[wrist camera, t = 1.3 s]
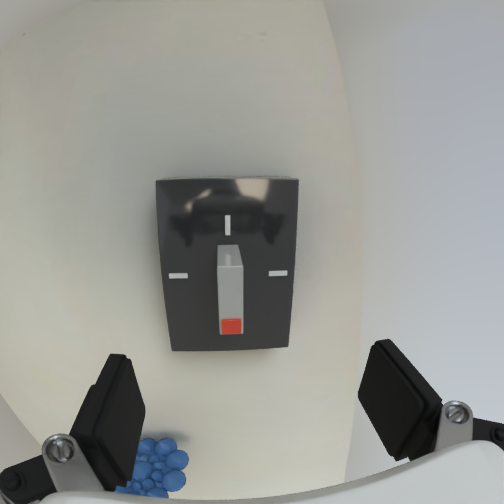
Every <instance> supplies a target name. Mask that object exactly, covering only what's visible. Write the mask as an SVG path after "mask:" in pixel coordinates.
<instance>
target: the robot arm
mask: <svg viewBox="0 0 504 504" xmlns="http://www.w3.org/2000/svg"><path fill="white" fill-rule="evenodd" d="M358 398H359V401H360V402H361V404H362V406H363V408H364V410H365V412H366V413H367V415H368V417H369V419H370V421H371V423H372V424H373V426H374V428H375V430H376V432H377V433H378V435H379V437H380V439H381V441H382V442H383V445H384V446H385V448H386V450H387V452H388V454H389V455H390V456H393V457H394V459H395V460H396V461H399V460H402V459H404V458H407V457H408V458H409V460H410V462H407V463H405V464H402V465H400V466H397V467H394V468H392V469H389V470H386V471H383V472H380V473H377V474H374V475H371V476H368V477H365V478H361V479H358V480H354V481H350V482H347V483H343V484H339V485H335V486H330V487H326V488H321V489H317V490H312V491H306V492H301V493H294V494H288V495H281V496H273V497H264V498H252V499H237V500H185V499H169V498H157V497H147V496H139V495H132V494H124V493H116V492H114V491H116V487H117V486H120V487H126V486H127V481H131V480H132V476H133V471H134V465H135V460H136V455H137V450H138V445H139V440H140V436H141V431H142V427H143V422H144V418H145V405H144V402H143V399H142V396H141V393H140V390H139V386H138V383H137V380H136V376H135V373H134V369H133V366H132V362H131V360H130V359H128V358H127V357H126V356H125V355H124V354H110V355H109V357H108V359H107V361H106V363H105V365H104V367H103V369H102V371H101V373H100V375H99V377H98V380H97V382H96V384H95V385H94V384H93V385H92V386H91V387H90V389H89V391H88V393H87V395H86V397H85V399H84V401H83V404H82V406H81V408H80V410H79V413H78V415H77V417H76V419H75V422H74V424H73V426H72V429H71V431H70V433H69V435H67V434H55V435H52V436H50V437H49V438H47V439H46V440H45V442H44V443H43V445H42V455H39V456H37V457H34V458H32V459H30V460H27V461H24V462H22V463H19V464H17V465H14V466H11V467H8V468H6V469H4V470H3V471H2V472H1V474H0V504H504V424H502V423H497V422H492V421H487V420H482V419H477V418H473V414H472V410H471V409H470V407H469V406H468V405H466V404H465V403H463V402H460V401H449V402H447V403H445V404H444V405H443V404H442V403H441V401H442V399H441V398H440V397H439V395H438V394H437V393H436V392H435V391H434V389H433V388H432V387H431V386H430V385H429V383H428V382H427V381H426V380H425V379H424V377H423V376H422V375H421V374H420V373H419V372H418V370H417V369H416V368H415V367H414V366H413V365H412V364H411V362H410V361H409V360H408V359H407V358H406V357H405V356H404V354H403V353H402V352H401V351H400V350H399V349H398V348H397V346H396V345H395V344H394V343H393V342H392V341H391V340H390V339H385V340H379V341H376V342H375V344H374V345H372V346H371V349H370V353H369V357H368V360H367V364H366V367H365V371H364V374H363V378H362V381H361V384H360V388H359V391H358Z"/></svg>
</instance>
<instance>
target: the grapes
mask: <svg viewBox="0 0 504 504" xmlns="http://www.w3.org/2000/svg"><path fill="white" fill-rule="evenodd" d="M188 461H189V458H188V455H187V453H186V452H184V451H183V450H177V445H176V442H175V441H174V440H173V439H169V438H165V439H162V440H160V441H158V443H156V441H154V440H153V439H149V438H147V439H143V440H141V441H139V445H138V450H137V455H136V460H135V465H134V471H133V476H132V480H131V481H127V486H126V487H120V486H117V487H116V491H114V492H116V493H124V494H132V495H139V496H147V497H157V498H169V496H168V493H167V491H170V492H174V491H178V490H180V489H181V488H182V487H183V486H184V485H185V483H186V477H185V474H184V473H183V472H182V471H180V470H183V469H184V468H185V467H186V466H187V465H188Z"/></svg>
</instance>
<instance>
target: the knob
mask: <svg viewBox="0 0 504 504" xmlns="http://www.w3.org/2000/svg"><path fill="white" fill-rule="evenodd" d="M217 284H218V309H219V330H220V334H221V335H223V334H243V263H242V259H241V254H240V250H239V246H238V245H218V246H217Z"/></svg>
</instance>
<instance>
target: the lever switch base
mask: <svg viewBox="0 0 504 504" xmlns="http://www.w3.org/2000/svg"><path fill="white" fill-rule="evenodd" d="M298 186H299V180H298V179H297V178H292V177H279V176H203V177H175V178H163V179H159V180H156V204H157V223H158V238H159V251H160V262H161V272H162V282H163V291H164V299H165V307H166V315H167V322H168V329H169V336H170V342H171V348H172V351H229V350H251V349H268V348H281V347H288V344H289V333H290V322H291V310H292V297H293V283H294V268H295V252H296V234H297V212H298ZM218 245H238V246H239V250H240V254H241V259H242V263H243V334H223V335H221V334H220V330H219V309H218V284H217V246H218Z"/></svg>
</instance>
